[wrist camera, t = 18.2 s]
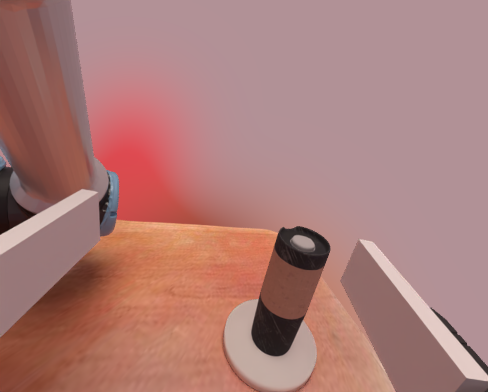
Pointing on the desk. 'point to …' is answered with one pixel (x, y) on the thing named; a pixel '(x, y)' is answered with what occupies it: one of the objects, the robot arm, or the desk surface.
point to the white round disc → (262, 365)
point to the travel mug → (288, 288)
